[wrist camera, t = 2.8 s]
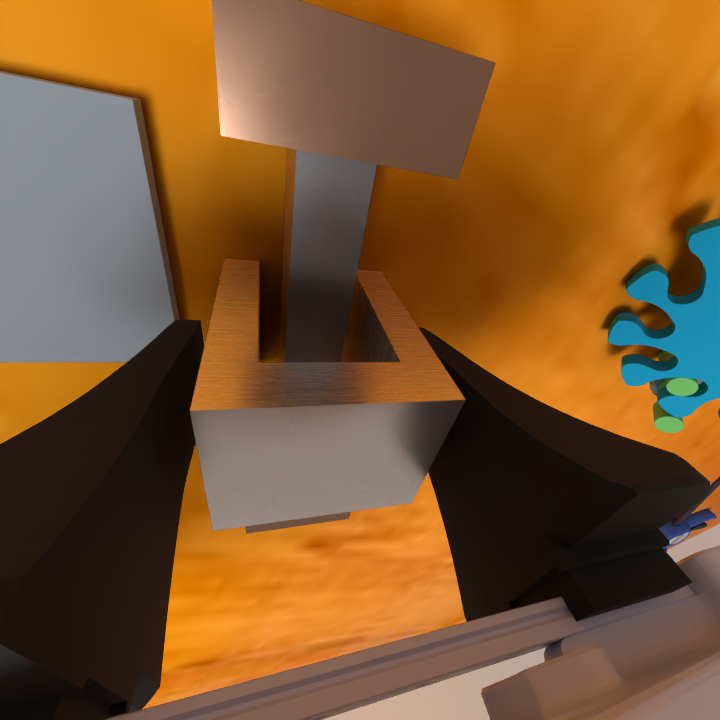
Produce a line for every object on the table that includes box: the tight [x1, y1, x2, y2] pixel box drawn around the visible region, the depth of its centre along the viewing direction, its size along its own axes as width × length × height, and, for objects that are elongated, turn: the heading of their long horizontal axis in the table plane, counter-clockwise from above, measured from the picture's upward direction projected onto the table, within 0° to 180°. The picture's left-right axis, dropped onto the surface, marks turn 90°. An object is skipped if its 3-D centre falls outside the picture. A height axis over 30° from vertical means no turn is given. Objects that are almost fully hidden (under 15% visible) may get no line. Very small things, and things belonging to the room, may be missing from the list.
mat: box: [0, 71, 180, 362], centre depth 8 cm, size 7×7×1 cm
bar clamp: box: [659, 477, 720, 552], centre depth 41 cm, size 32×2×10 cm
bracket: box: [190, 258, 466, 531], centre depth 9 cm, size 4×5×6 cm
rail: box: [212, 0, 495, 533], centre depth 10 cm, size 14×4×4 cm, turn 169°
